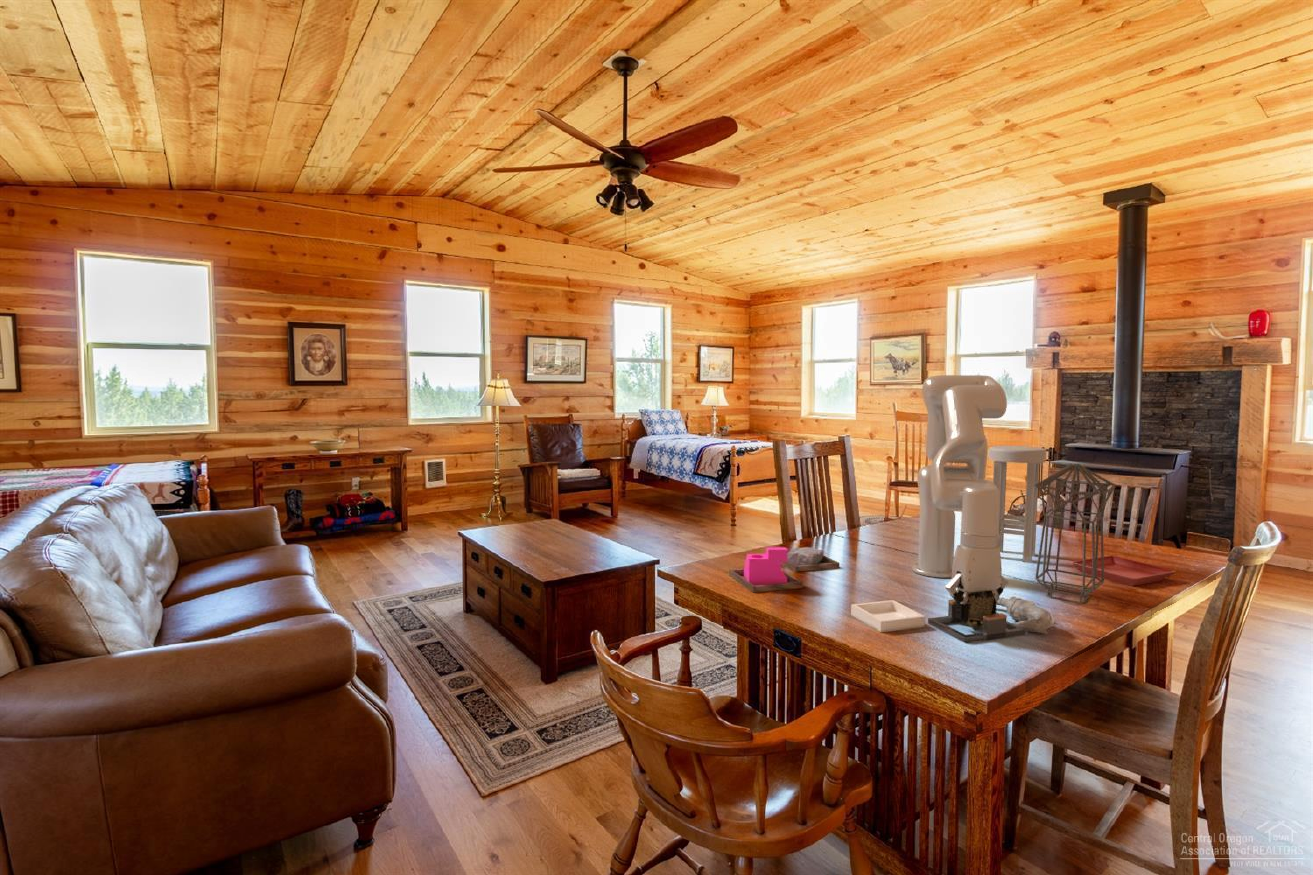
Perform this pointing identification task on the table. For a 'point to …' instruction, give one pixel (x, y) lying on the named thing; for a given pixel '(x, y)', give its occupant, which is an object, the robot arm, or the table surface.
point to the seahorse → (1027, 614)
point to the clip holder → (991, 626)
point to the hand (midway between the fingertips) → (975, 617)
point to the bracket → (766, 567)
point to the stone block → (805, 556)
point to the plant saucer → (1125, 570)
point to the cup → (979, 607)
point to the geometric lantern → (1098, 515)
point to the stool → (999, 479)
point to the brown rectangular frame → (828, 565)
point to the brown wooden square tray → (770, 587)
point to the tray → (887, 616)
